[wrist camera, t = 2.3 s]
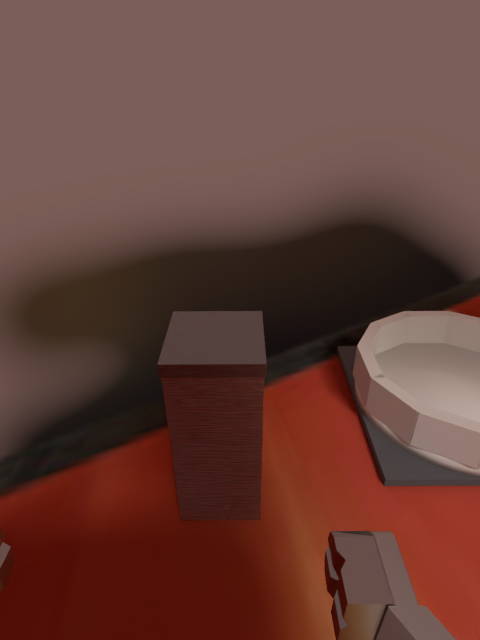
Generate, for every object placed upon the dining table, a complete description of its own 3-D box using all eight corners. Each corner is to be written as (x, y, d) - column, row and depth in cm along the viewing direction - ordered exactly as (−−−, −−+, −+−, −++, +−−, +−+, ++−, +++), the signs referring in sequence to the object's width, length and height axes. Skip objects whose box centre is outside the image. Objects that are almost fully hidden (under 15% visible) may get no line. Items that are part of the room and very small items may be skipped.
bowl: (497, 345, 41) (509, 310, 39) (626, 479, 27) (656, 436, 25) (337, 346, 41) (342, 311, 39) (385, 479, 27) (396, 436, 25)
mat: (495, 350, 41) (497, 345, 41) (621, 485, 28) (626, 479, 27) (337, 351, 41) (337, 346, 41) (384, 485, 28) (385, 479, 27)
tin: (259, 455, 30) (262, 310, 24) (261, 521, 26) (266, 363, 19) (188, 456, 30) (173, 311, 24) (178, 521, 26) (157, 364, 19)
